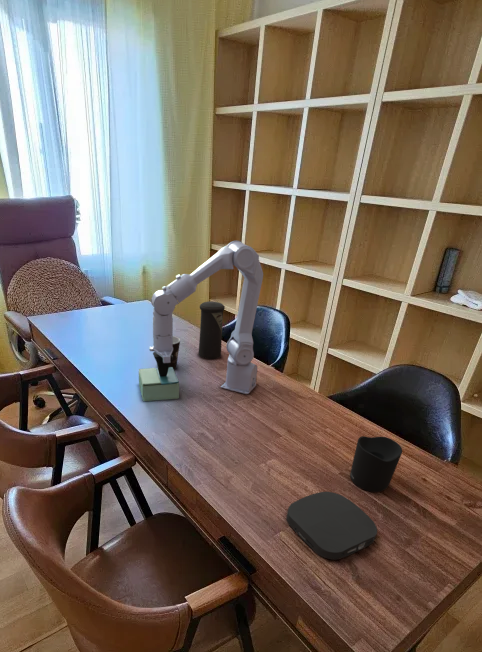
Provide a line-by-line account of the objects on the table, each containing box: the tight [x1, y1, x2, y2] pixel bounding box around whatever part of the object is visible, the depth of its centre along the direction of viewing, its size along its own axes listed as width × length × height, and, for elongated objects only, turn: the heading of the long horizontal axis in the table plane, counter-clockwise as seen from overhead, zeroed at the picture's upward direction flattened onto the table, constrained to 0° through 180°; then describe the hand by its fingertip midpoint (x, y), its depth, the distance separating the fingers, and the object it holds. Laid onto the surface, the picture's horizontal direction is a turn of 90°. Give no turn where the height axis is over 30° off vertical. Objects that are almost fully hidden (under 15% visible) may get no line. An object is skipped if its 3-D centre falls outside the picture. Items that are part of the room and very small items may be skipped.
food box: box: [138, 367, 180, 402], centre depth 133 cm, size 11×11×6 cm
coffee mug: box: [169, 335, 181, 370], centre depth 149 cm, size 12×9×10 cm
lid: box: [156, 367, 180, 385], centre depth 132 cm, size 5×11×1 cm, turn 13°
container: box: [198, 300, 225, 360], centre depth 156 cm, size 9×9×20 cm
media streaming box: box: [286, 491, 378, 561], centre depth 85 cm, size 15×15×3 cm
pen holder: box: [349, 435, 403, 493], centre depth 97 cm, size 9×9×10 cm
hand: (163, 375), depth 132 cm, fingers closed, pressing on lid
